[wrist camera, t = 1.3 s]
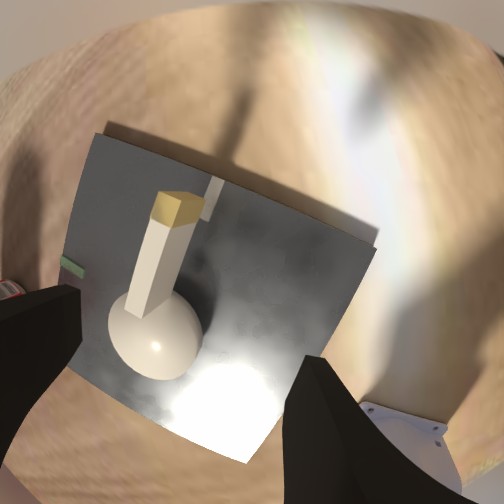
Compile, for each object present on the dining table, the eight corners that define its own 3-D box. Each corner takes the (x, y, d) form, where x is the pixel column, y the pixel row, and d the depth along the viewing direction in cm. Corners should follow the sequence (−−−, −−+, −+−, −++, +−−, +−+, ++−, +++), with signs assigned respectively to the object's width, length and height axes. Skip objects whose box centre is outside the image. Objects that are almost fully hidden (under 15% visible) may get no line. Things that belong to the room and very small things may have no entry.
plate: (373, 246, 18) (381, 252, 16) (248, 455, 22) (244, 471, 20) (103, 134, 19) (87, 130, 17) (58, 350, 24) (45, 358, 22)
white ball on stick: (186, 383, 19) (158, 426, 14) (112, 342, 19) (73, 373, 15) (255, 217, 16) (236, 225, 12) (160, 177, 17) (114, 172, 12)
